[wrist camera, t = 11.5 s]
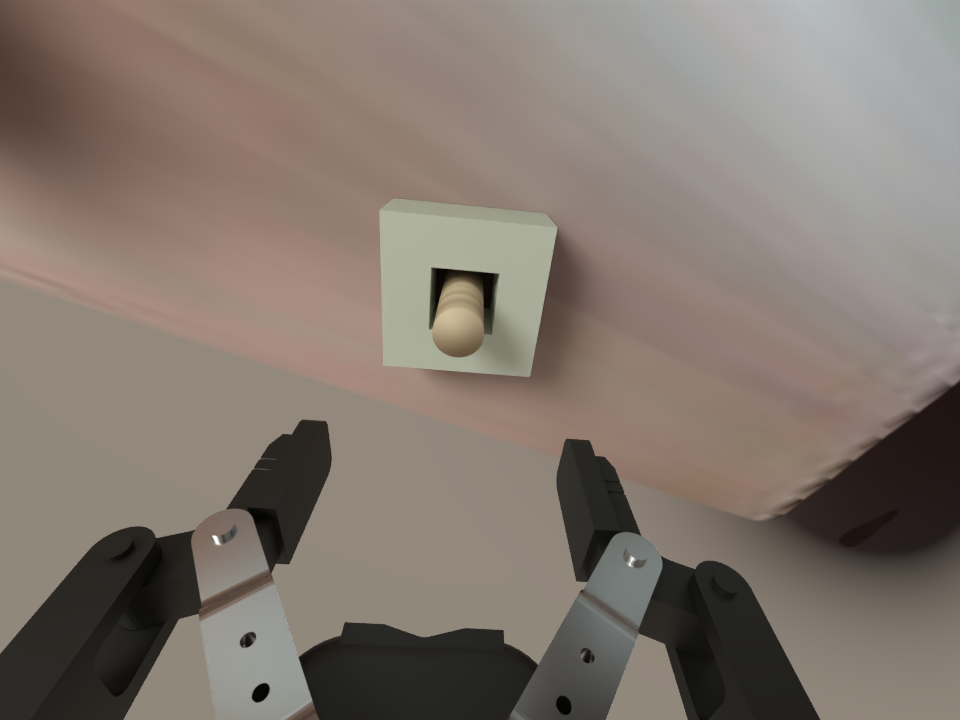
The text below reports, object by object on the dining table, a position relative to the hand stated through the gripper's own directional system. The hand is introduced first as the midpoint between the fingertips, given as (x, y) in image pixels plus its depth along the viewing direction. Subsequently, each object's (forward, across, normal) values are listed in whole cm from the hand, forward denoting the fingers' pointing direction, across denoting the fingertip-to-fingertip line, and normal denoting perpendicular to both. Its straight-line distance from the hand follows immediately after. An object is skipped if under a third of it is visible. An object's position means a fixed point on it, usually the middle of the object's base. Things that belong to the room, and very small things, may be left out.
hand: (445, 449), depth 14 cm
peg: (+20, 0, +1) cm, 21 cm away
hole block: (+20, 0, +1) cm, 21 cm away
